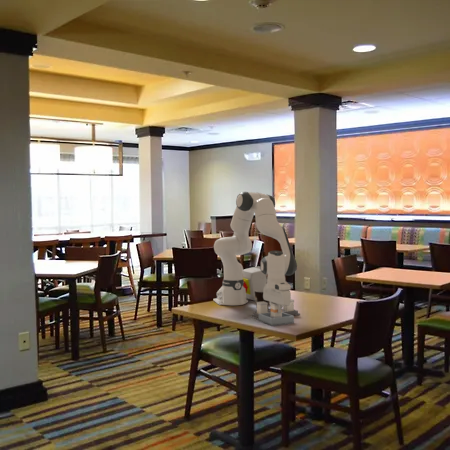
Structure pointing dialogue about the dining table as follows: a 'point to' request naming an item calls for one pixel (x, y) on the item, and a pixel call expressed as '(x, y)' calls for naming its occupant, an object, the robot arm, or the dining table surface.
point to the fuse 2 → (290, 307)
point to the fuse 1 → (262, 307)
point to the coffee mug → (259, 297)
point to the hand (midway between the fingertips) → (276, 312)
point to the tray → (276, 319)
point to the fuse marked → (275, 311)
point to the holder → (293, 313)
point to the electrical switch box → (253, 281)
